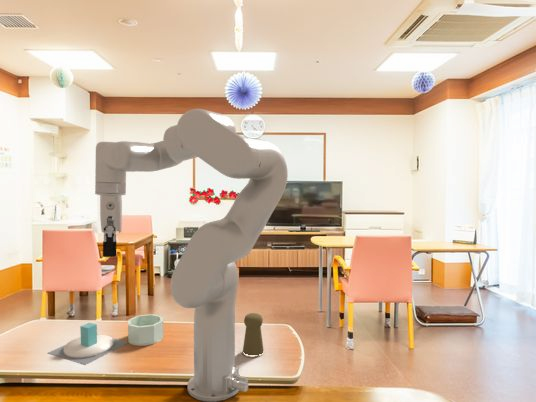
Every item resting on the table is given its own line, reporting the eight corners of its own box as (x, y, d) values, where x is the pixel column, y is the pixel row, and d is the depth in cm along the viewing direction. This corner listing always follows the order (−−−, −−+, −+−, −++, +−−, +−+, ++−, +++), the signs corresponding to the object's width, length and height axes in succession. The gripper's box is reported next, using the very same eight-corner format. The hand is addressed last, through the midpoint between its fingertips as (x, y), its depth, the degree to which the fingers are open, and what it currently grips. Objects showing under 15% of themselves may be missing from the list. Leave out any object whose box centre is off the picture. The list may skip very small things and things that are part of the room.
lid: (123, 342, 115) (122, 321, 115) (86, 362, 103) (85, 338, 103) (91, 334, 120) (91, 314, 120) (53, 352, 109) (52, 329, 108)
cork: (250, 345, 115) (250, 309, 114) (267, 350, 112) (268, 313, 111) (238, 354, 110) (238, 315, 109) (256, 359, 107) (256, 320, 106)
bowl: (169, 336, 121) (169, 317, 120) (147, 349, 112) (146, 329, 111) (144, 330, 125) (144, 312, 125) (120, 343, 116) (120, 323, 116)
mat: (128, 343, 116) (128, 342, 115) (85, 366, 102) (85, 364, 102) (92, 334, 122) (92, 333, 122) (47, 354, 108) (47, 353, 108)
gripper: (126, 192, 97) (125, 259, 99) (124, 186, 113) (123, 245, 115) (93, 191, 94) (92, 260, 96) (96, 186, 110) (95, 245, 112)
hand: (109, 252), depth 105 cm, fingers open, 9 cm apart
